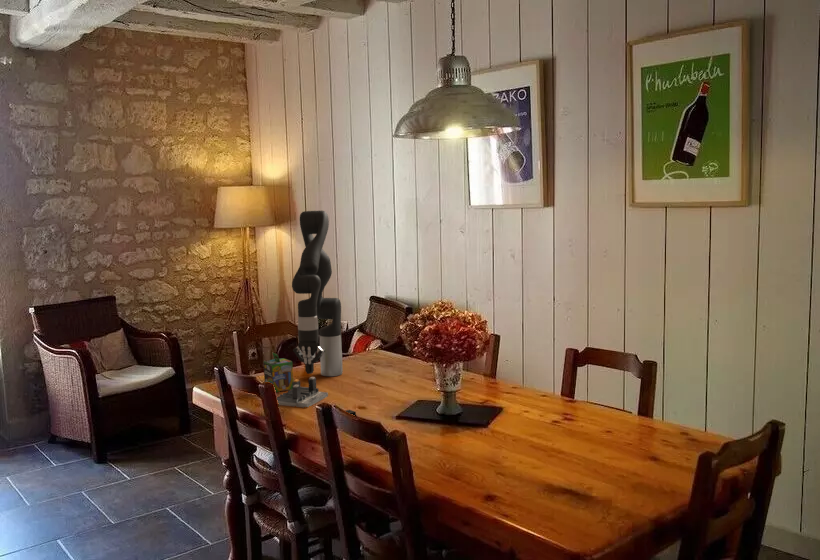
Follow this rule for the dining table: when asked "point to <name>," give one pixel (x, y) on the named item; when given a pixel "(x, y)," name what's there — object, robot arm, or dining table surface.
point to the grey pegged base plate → (302, 395)
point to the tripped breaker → (296, 383)
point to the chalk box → (279, 373)
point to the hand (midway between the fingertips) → (309, 373)
